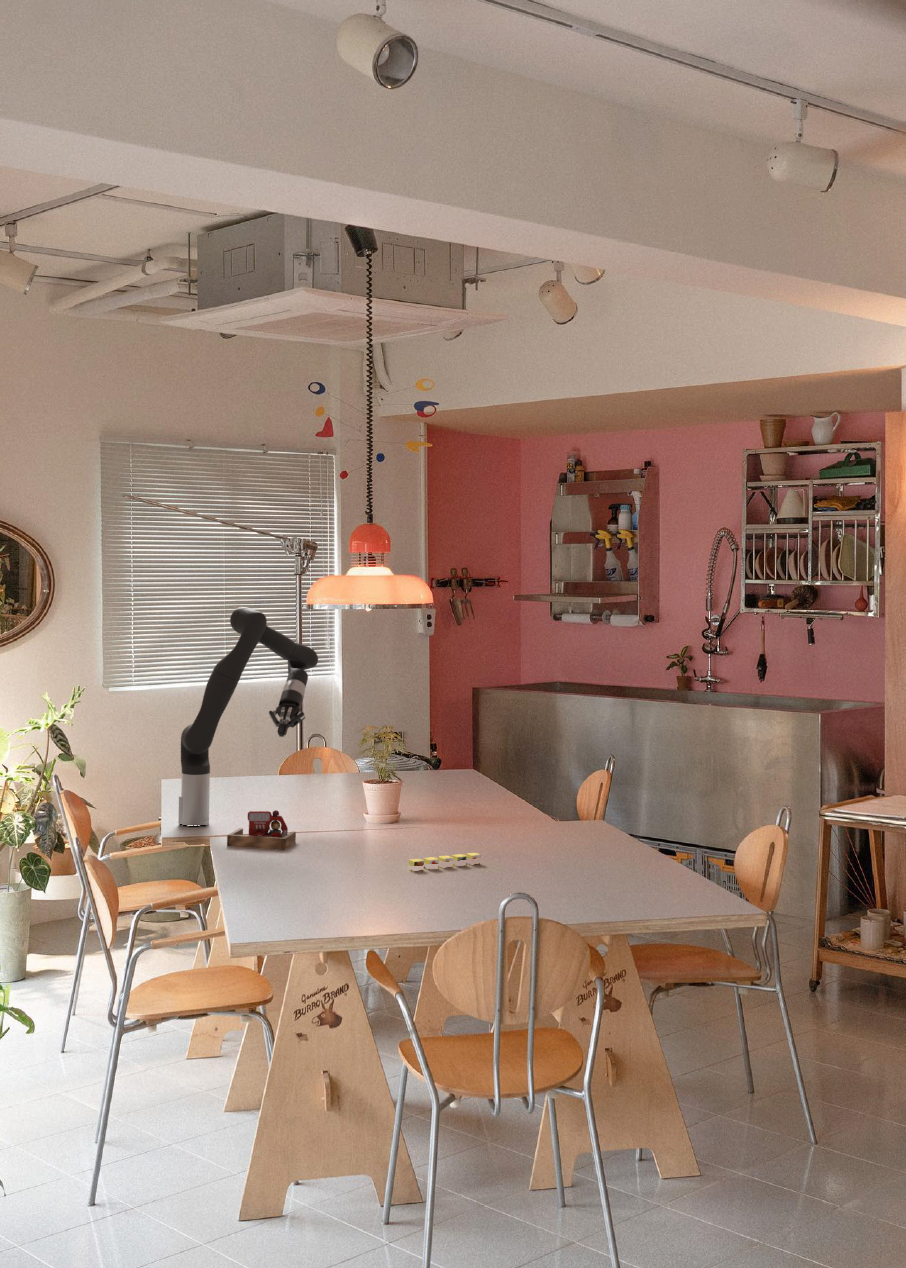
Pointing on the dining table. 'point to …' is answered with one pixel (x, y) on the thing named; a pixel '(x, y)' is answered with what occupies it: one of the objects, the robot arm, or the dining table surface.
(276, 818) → the toy fire truck
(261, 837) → the walnut cradle
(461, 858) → the yellow cube chain
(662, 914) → the dining table surface
